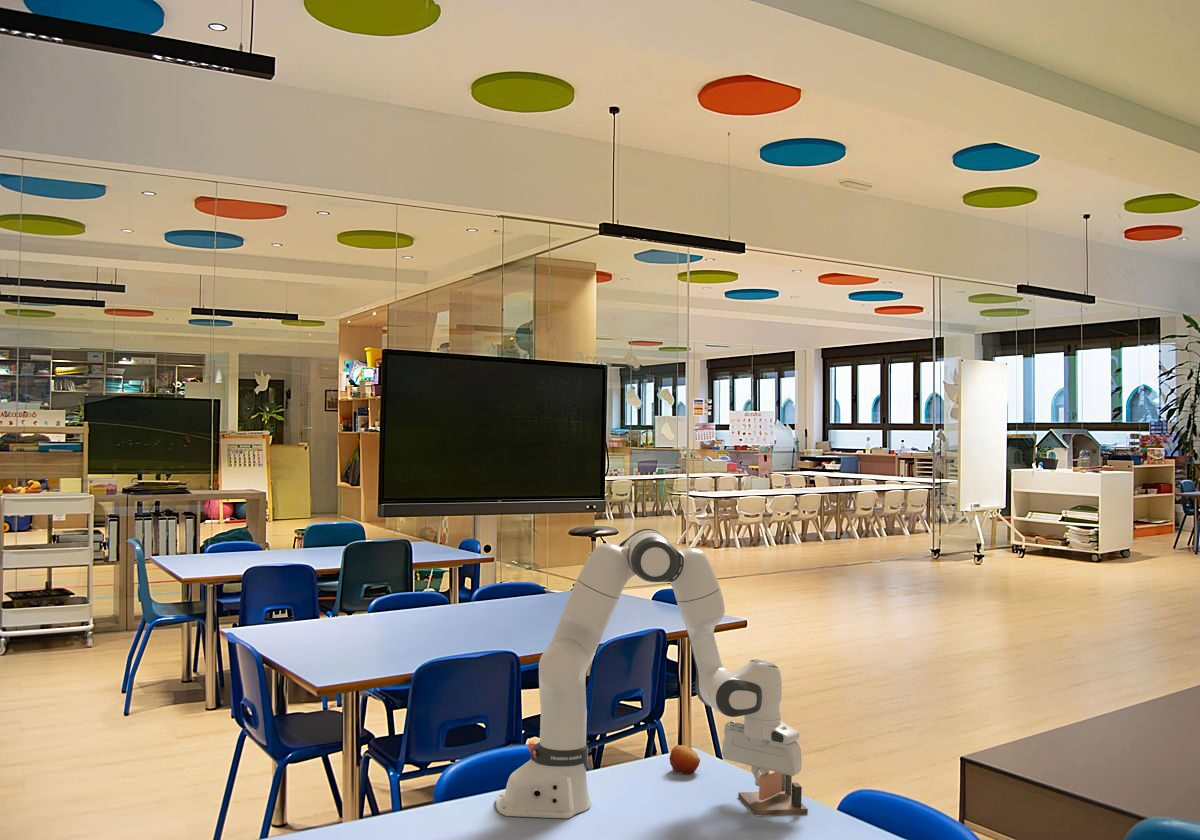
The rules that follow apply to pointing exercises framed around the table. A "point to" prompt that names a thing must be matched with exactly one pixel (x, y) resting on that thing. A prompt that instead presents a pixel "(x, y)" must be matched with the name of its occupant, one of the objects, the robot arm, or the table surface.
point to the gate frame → (776, 801)
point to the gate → (771, 784)
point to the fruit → (684, 760)
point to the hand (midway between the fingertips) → (759, 785)
